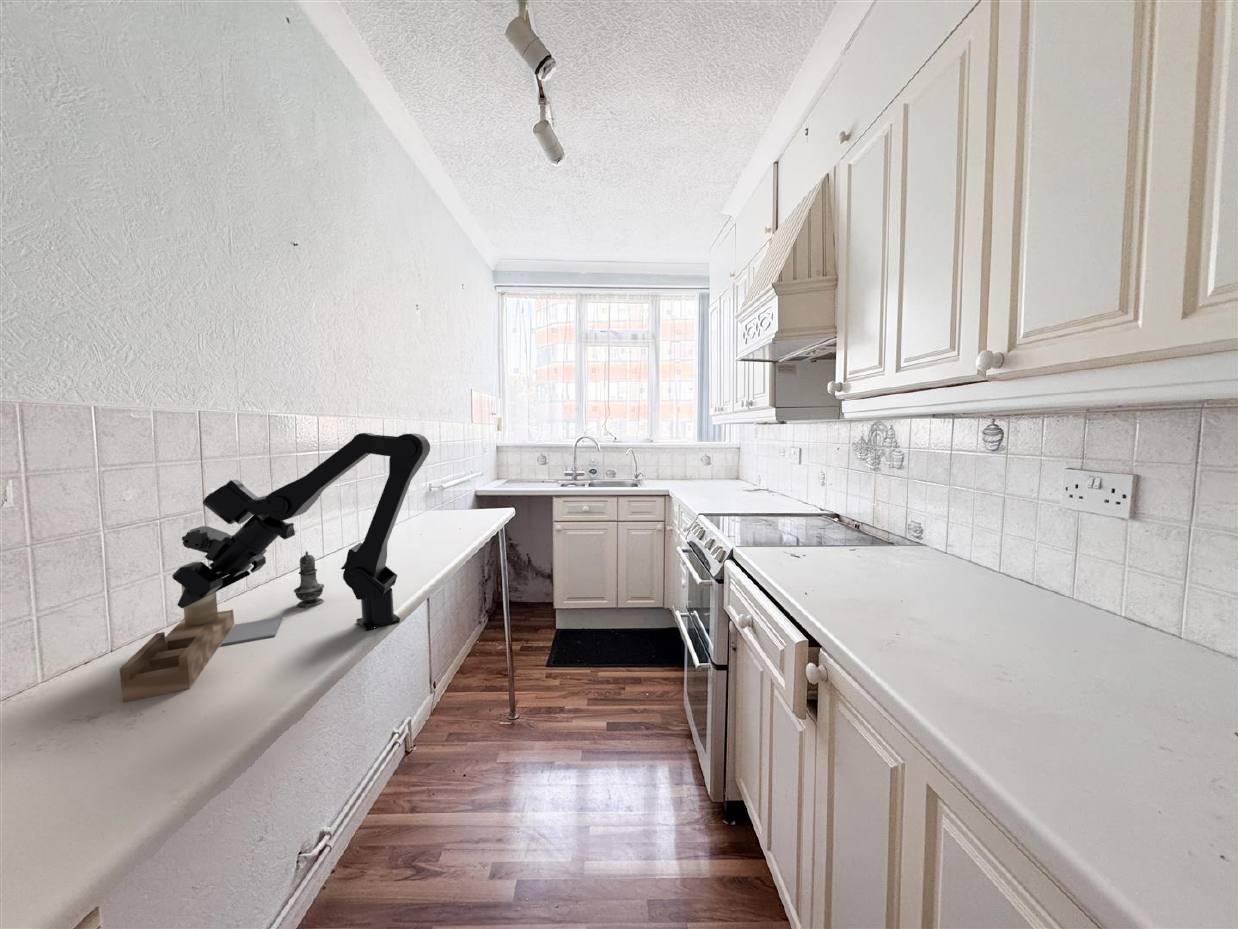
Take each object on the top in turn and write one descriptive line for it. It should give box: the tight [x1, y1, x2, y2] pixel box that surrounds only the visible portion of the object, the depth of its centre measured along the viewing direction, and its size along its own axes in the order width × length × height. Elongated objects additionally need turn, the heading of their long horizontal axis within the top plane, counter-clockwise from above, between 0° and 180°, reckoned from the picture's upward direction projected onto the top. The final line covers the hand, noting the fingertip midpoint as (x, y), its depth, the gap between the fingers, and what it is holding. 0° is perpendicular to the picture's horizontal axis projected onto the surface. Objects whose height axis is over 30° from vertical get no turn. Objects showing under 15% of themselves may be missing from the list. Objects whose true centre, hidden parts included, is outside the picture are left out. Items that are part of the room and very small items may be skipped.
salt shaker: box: [293, 550, 325, 609], centre depth 109 cm, size 6×6×12 cm
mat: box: [221, 616, 284, 646], centre depth 95 cm, size 10×8×1 cm
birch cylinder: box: [181, 585, 219, 626], centre depth 93 cm, size 5×5×8 cm
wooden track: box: [119, 609, 235, 703], centre depth 84 cm, size 28×8×5 cm, turn 27°
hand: (191, 600), depth 93 cm, fingers open, 6 cm apart
